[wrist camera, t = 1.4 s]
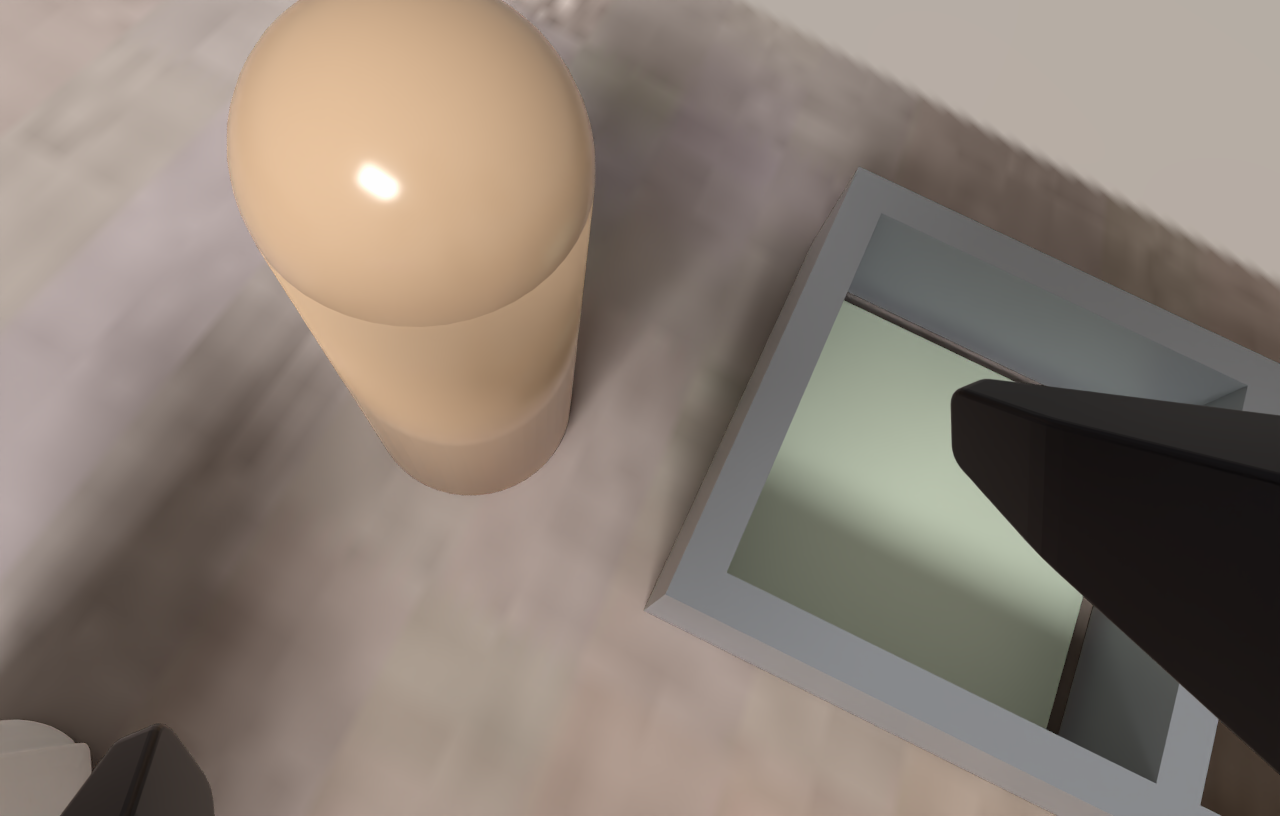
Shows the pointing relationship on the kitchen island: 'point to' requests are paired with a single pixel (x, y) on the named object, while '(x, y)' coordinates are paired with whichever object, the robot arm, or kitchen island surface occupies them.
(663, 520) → the kitchen island surface
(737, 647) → the carton frame
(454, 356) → the beige rounded cylinder
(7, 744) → the white flat bottle
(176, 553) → the kitchen island surface
